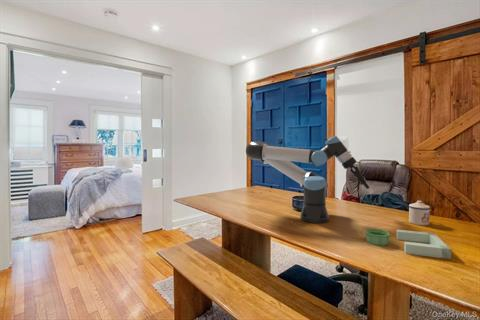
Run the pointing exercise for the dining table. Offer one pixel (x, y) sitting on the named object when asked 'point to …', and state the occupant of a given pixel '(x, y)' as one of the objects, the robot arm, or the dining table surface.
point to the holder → (432, 249)
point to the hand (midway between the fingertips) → (370, 191)
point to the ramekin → (377, 236)
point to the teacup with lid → (419, 213)
